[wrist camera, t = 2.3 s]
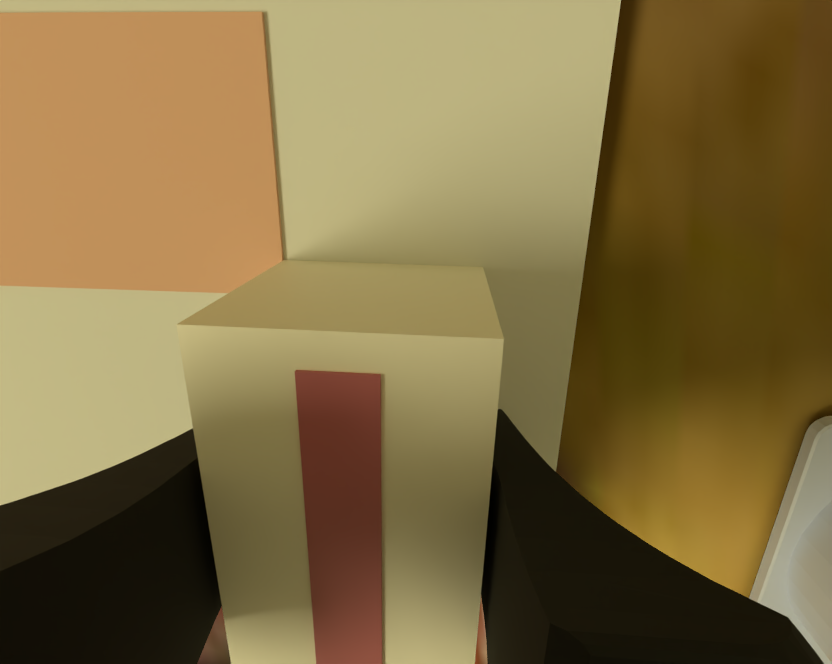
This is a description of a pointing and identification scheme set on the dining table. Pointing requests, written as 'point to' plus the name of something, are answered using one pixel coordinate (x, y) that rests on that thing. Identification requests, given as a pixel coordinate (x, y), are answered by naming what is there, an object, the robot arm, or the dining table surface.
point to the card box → (347, 458)
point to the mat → (276, 188)
